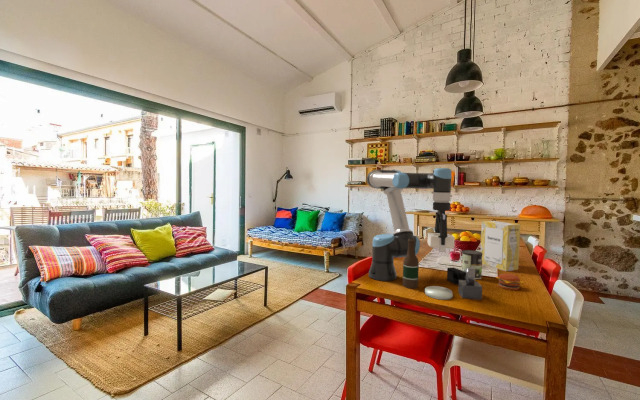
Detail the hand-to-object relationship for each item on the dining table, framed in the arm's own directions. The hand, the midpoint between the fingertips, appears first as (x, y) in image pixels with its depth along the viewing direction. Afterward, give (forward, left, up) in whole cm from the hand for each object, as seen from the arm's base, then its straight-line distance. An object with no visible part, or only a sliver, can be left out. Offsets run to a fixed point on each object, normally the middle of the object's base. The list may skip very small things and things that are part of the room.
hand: (440, 249), depth 137 cm
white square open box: (0, 0, +2) cm, 2 cm away
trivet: (0, 0, -22) cm, 22 cm away
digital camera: (+12, +20, -22) cm, 32 cm away
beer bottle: (-12, +9, -22) cm, 26 cm away
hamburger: (+37, +20, -22) cm, 47 cm away
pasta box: (+46, +61, -22) cm, 79 cm away
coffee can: (+23, +34, -22) cm, 46 cm away
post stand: (+14, +2, -22) cm, 26 cm away
